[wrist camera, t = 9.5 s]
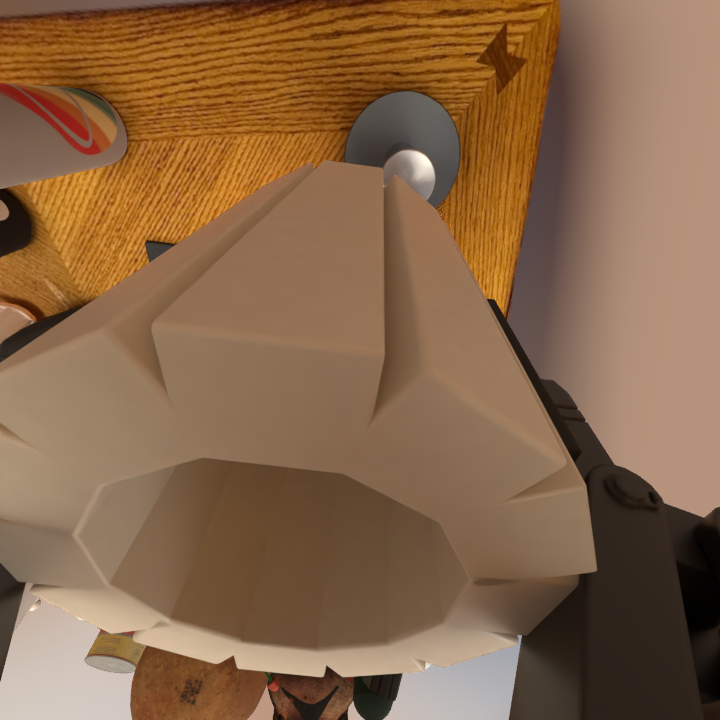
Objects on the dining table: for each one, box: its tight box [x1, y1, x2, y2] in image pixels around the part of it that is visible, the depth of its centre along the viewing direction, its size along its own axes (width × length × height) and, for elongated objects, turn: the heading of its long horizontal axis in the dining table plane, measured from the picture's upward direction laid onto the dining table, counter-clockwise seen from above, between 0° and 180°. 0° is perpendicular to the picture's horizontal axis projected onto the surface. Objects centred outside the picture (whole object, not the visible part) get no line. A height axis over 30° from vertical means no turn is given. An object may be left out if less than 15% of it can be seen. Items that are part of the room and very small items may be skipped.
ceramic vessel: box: [267, 665, 354, 720], centre depth 79 cm, size 21×18×30 cm
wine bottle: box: [348, 676, 393, 720], centre depth 68 cm, size 8×10×30 cm
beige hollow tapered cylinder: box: [0, 160, 597, 677], centre depth 10 cm, size 9×9×11 cm
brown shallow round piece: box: [0, 302, 37, 344], centre depth 40 cm, size 12×4×11 cm, turn 1°
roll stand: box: [344, 90, 461, 208], centre depth 28 cm, size 10×10×10 cm
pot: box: [130, 645, 271, 720], centre depth 73 cm, size 24×24×30 cm
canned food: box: [84, 629, 146, 673], centre depth 87 cm, size 11×11×12 cm
